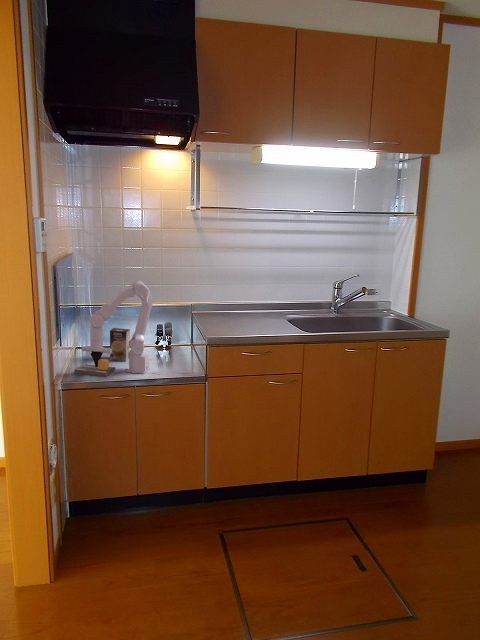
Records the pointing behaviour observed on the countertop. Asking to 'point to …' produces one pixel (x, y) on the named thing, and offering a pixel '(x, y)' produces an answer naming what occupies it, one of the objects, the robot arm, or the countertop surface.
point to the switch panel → (93, 371)
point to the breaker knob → (103, 364)
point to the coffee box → (119, 344)
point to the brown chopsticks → (111, 367)
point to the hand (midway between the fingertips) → (97, 366)
